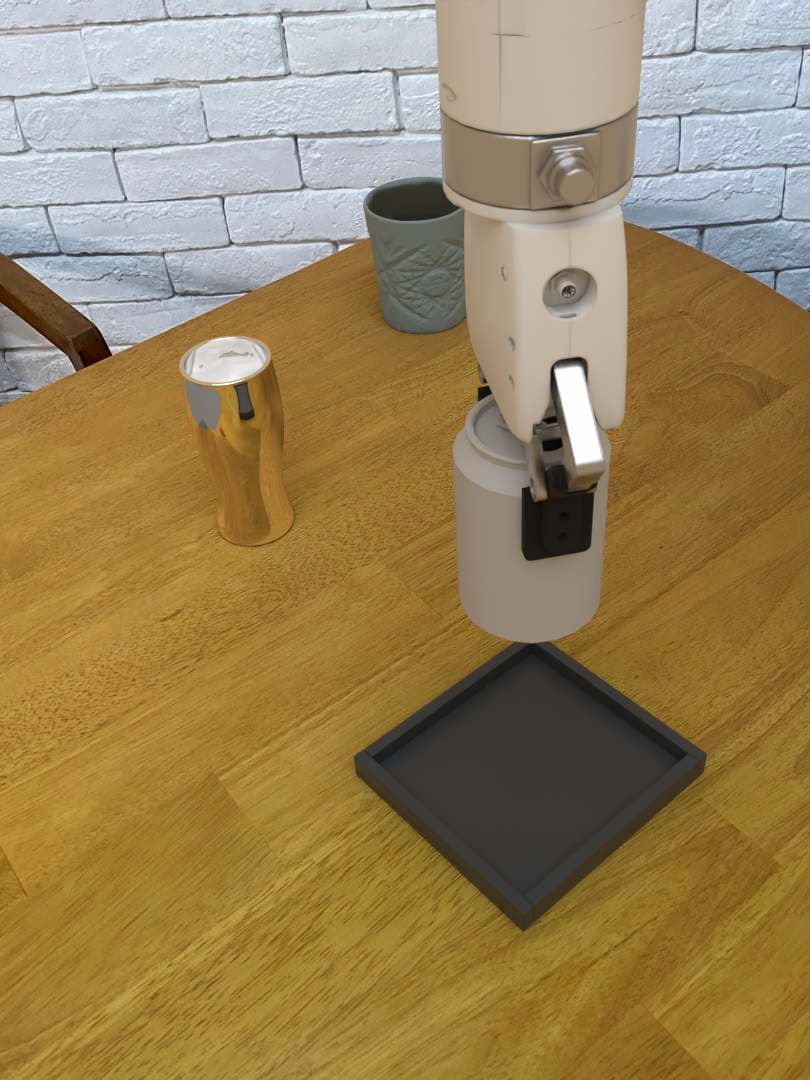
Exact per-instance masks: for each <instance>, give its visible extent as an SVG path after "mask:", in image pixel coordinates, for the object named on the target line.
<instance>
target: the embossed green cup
mask: <svg viewBox="0 0 810 1080" xmlns="http://www.w3.org/2000/svg"><path fill="white" fill-rule="evenodd" d="M362 207H363V212H364V218H365V223H366V230H367V232H368V236H369V241H370V245H371V252H372V258H373V265H374V270H375V273H376V281H377V286H378V292H379V301H380V308H381V313H382V317H383V319H384V321H385V323H386V324H387V325H388V326H389V327H391V328H393V329H394V330H397V331H398V332H404V333H408V334H418V335H422V334H423V335H427V334H428V335H429V334H435V333H436V334H437V333H441V332H445V331H447V330H450V329H452V328H454V327H456V326H458V325H459V324H461V322H462V321H464V320H465V318H466V317H467V314H466V300H465V269H464V215H465V211H464V210H463V209H461V208H460V207H458V206H455V205H454V204H453V203H452V202H451V201H450V200H449V199H448V198H447V197H446V195H445V193H444V190H443V181H442V177H437V176H436V177H435V176H413V177H405V178H399V179H395V180H392V181H388V182H386V183H383V184H381V185H378V186H377V187H375V188H373V189H371V190H370V191H369V192H368V193H367V194H366V195H365V197H364V199H363V202H362Z"/></svg>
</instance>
